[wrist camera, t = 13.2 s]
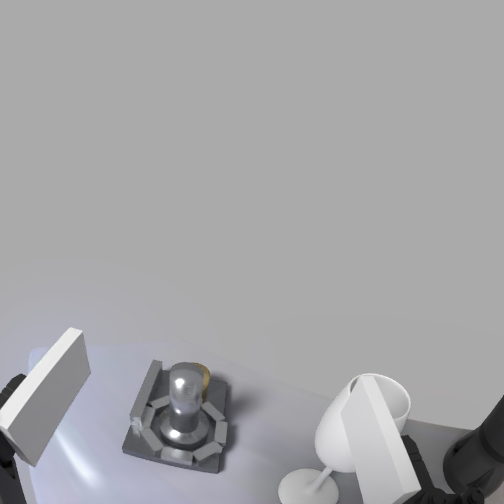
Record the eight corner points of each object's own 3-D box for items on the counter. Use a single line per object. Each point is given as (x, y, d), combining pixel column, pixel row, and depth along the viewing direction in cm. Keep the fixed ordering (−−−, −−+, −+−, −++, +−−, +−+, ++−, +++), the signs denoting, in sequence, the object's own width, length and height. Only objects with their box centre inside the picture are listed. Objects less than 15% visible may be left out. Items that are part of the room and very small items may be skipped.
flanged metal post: (209, 416, 38) (218, 360, 34) (205, 452, 31) (214, 399, 28) (164, 408, 38) (164, 349, 34) (154, 443, 31) (150, 387, 27)
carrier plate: (229, 388, 47) (234, 362, 45) (221, 474, 30) (227, 453, 28) (153, 374, 46) (153, 346, 44) (123, 453, 29) (116, 428, 27)
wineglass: (268, 476, 30) (320, 373, 24) (322, 462, 33) (386, 360, 27) (291, 525, 23) (371, 442, 16) (348, 504, 26) (436, 411, 19)
